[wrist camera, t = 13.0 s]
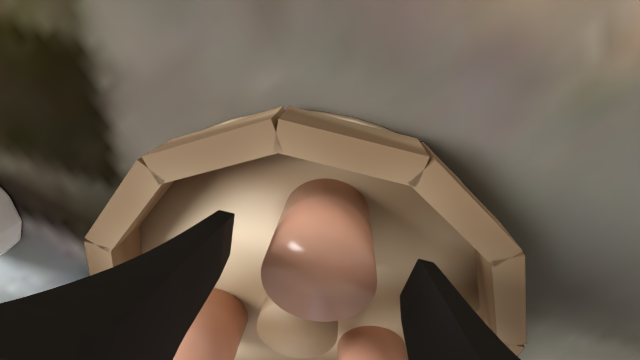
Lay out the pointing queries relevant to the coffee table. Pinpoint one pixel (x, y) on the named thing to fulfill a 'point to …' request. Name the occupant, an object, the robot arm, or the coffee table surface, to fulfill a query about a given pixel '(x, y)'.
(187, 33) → the coffee table surface
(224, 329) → the bead
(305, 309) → the bead
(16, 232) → the white cup
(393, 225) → the ring tray
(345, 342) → the bead
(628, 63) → the coffee table surface
